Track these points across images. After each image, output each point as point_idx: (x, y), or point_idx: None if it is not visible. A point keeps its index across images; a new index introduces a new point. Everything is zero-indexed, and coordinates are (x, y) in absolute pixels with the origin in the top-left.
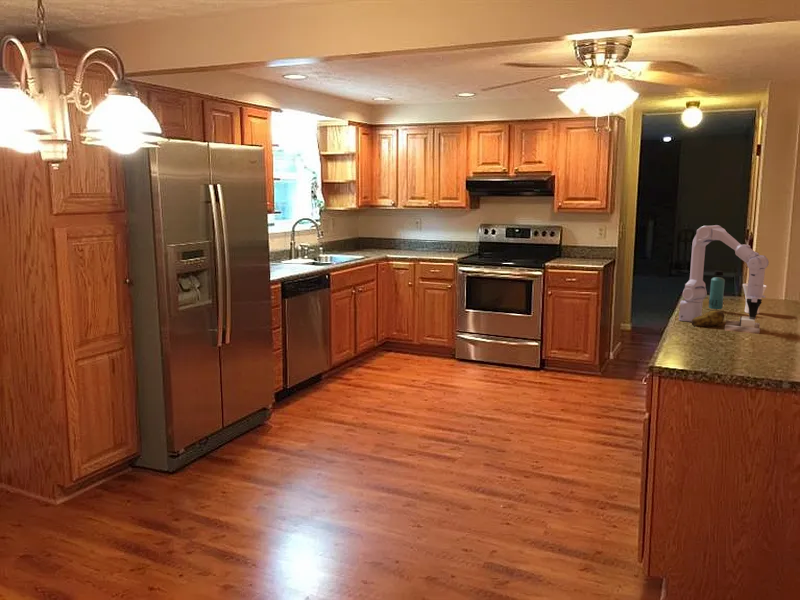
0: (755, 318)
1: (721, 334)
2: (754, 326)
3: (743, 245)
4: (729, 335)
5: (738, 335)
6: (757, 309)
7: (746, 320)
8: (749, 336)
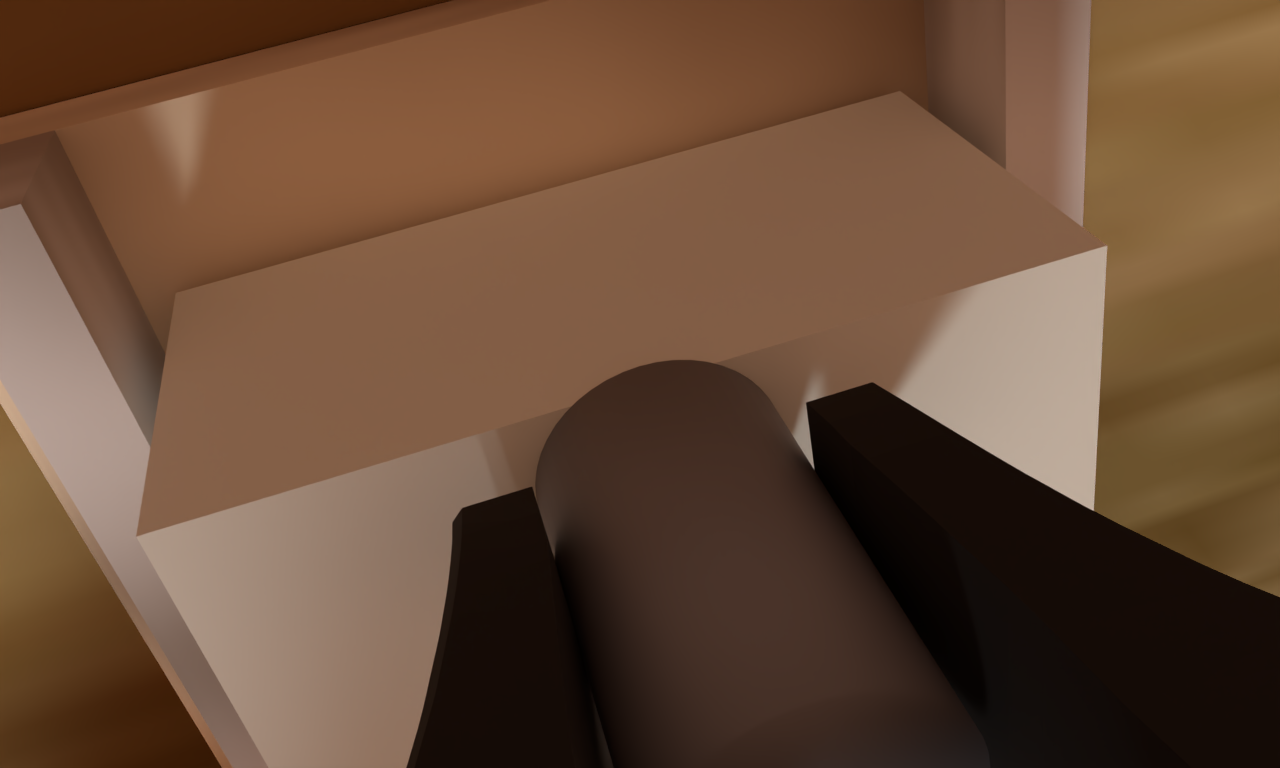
0: (673, 374)
1: (1214, 555)
2: (118, 303)
3: None
4: (1249, 428)
5: (1170, 302)
6: (1262, 591)
7: (1080, 488)
8: (1178, 69)
